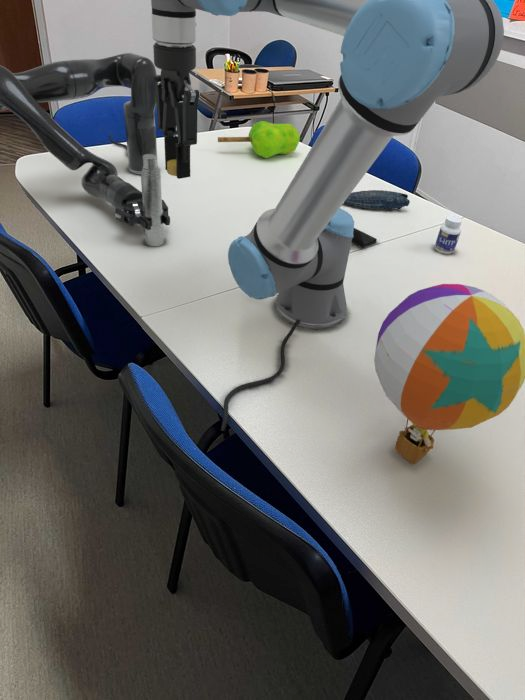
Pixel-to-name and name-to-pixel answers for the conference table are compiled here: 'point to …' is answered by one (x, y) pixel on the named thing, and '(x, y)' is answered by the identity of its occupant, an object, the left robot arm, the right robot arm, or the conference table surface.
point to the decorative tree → (269, 139)
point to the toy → (448, 362)
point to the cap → (172, 167)
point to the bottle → (152, 200)
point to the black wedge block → (362, 238)
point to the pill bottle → (448, 235)
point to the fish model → (378, 199)
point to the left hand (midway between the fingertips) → (158, 223)
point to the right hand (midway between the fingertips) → (177, 172)
